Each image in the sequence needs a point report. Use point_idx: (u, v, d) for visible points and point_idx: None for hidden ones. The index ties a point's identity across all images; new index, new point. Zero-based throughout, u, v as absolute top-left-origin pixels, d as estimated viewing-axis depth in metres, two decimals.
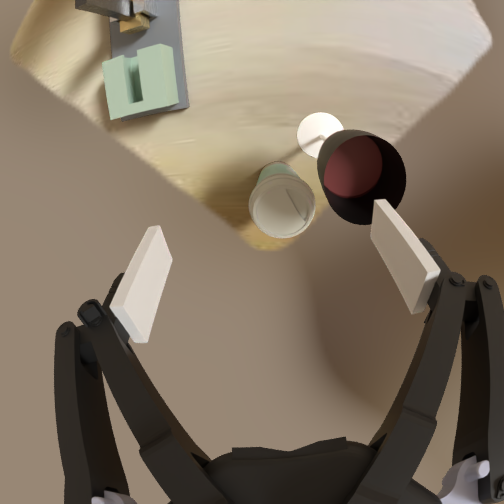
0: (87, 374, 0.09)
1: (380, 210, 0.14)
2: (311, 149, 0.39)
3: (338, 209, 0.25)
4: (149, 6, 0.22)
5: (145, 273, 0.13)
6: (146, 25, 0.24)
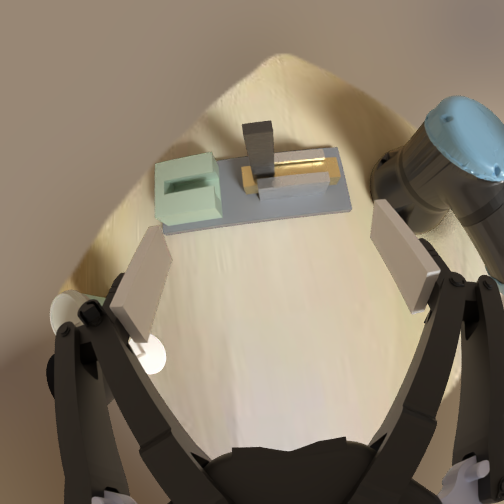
0: (87, 374, 0.09)
1: (380, 210, 0.14)
2: (133, 344, 0.41)
3: None
4: (266, 193, 0.38)
5: (145, 273, 0.13)
6: (247, 191, 0.39)
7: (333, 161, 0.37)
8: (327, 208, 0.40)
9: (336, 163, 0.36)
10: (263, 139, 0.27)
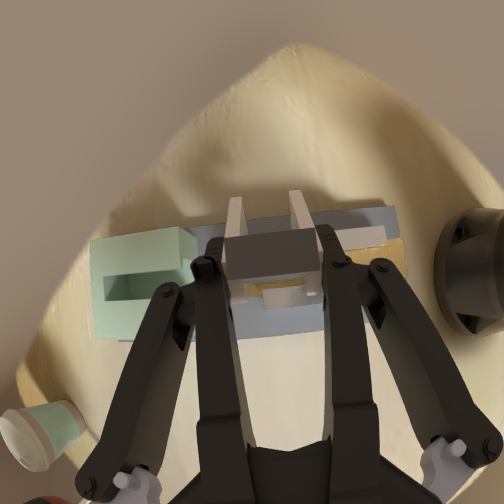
0: (174, 345, 0.10)
1: (290, 199, 0.16)
2: None
3: None
4: None
5: None
6: None
7: (398, 247, 0.20)
8: None
9: (402, 251, 0.20)
10: None
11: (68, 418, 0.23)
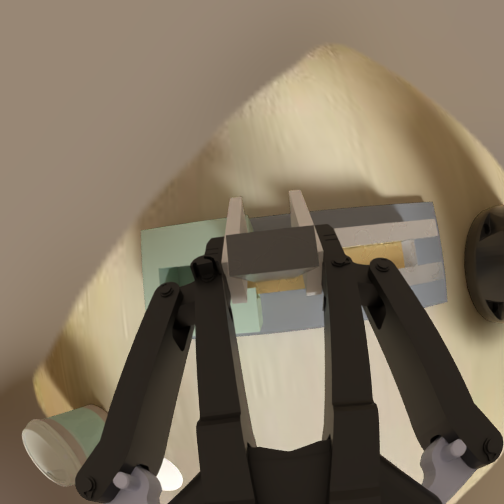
0: (174, 344, 0.10)
1: (290, 199, 0.16)
2: None
3: None
4: None
5: None
6: None
7: (396, 245, 0.20)
8: None
9: (400, 249, 0.20)
10: (287, 272, 0.10)
11: (100, 424, 0.23)
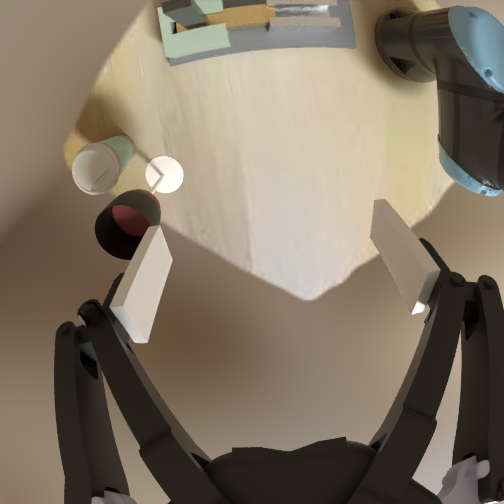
0: (87, 374, 0.09)
1: (380, 210, 0.14)
2: (150, 170, 0.46)
3: (100, 218, 0.31)
4: (277, 28, 0.28)
5: (145, 273, 0.13)
6: None
7: (270, 7, 0.25)
8: (333, 44, 0.31)
9: (273, 9, 0.25)
10: (184, 11, 0.19)
11: (125, 141, 0.40)
